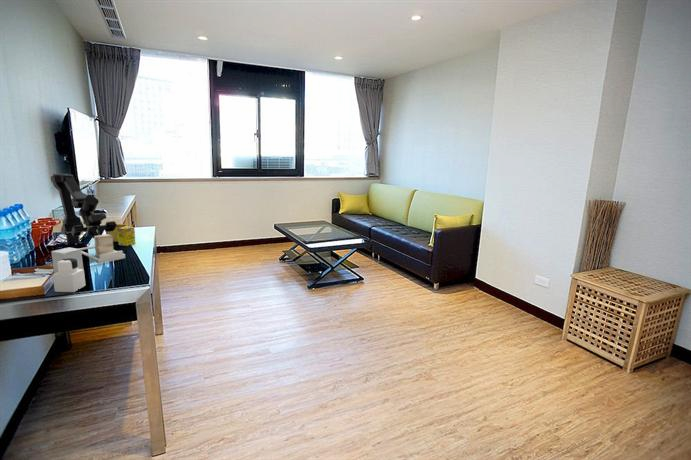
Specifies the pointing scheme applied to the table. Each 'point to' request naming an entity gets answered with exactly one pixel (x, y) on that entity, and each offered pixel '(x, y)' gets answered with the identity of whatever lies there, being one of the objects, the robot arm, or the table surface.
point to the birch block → (103, 244)
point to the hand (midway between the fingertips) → (101, 241)
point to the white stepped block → (68, 276)
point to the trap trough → (105, 255)
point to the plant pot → (116, 232)
